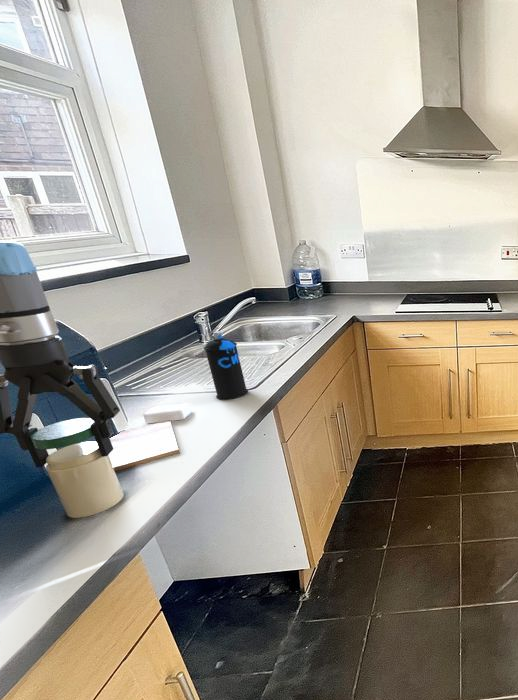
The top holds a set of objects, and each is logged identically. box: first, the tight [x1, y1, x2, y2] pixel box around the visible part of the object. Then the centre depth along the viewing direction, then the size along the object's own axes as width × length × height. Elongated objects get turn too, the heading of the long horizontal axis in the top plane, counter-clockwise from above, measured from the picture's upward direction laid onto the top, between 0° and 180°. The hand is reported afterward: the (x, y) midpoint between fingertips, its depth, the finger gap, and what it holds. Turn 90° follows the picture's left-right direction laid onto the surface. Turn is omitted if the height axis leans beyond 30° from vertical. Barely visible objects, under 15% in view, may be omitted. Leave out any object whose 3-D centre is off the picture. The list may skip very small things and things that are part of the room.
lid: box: [30, 417, 94, 450], centre depth 74 cm, size 8×8×2 cm
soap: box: [143, 402, 192, 425], centre depth 113 cm, size 9×6×3 cm, turn 107°
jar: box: [45, 441, 125, 519], centre depth 77 cm, size 8×8×12 cm
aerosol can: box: [203, 330, 249, 401], centre depth 125 cm, size 8×8×20 cm
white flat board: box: [109, 420, 181, 472], centre depth 99 cm, size 20×14×1 cm
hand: (76, 457), depth 76 cm, fingers closed on lid, 8 cm apart
